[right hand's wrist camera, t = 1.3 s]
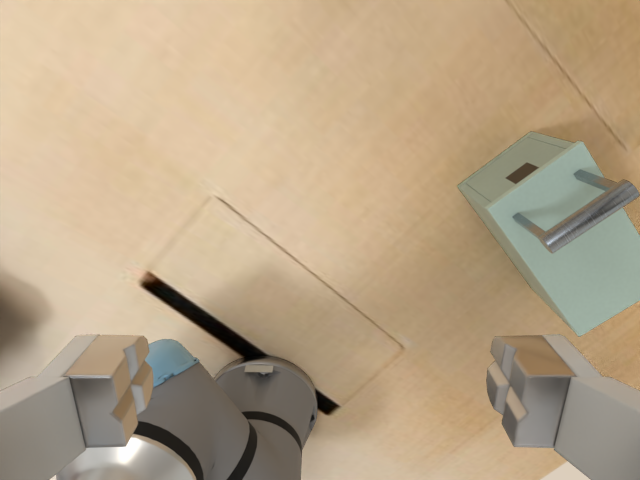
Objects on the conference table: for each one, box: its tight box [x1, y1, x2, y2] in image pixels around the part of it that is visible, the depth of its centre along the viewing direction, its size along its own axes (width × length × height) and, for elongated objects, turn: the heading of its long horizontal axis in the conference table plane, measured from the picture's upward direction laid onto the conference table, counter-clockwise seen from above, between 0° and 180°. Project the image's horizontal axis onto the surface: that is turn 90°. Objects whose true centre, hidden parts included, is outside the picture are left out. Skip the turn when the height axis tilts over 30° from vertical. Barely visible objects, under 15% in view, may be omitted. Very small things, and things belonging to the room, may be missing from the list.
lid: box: [485, 141, 640, 337], centre depth 40 cm, size 18×10×8 cm, turn 39°
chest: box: [457, 131, 574, 330], centre depth 48 cm, size 18×10×10 cm, turn 39°
